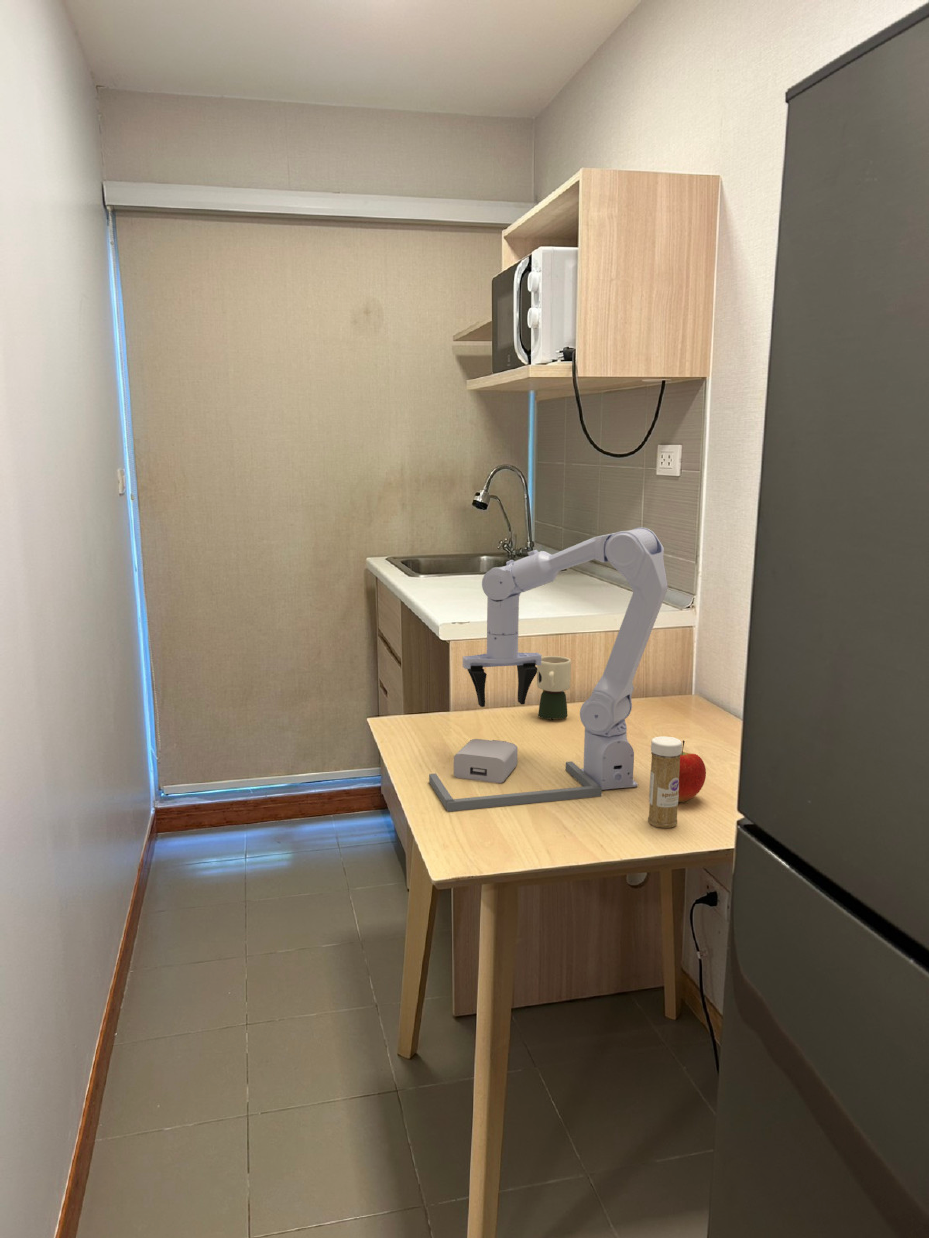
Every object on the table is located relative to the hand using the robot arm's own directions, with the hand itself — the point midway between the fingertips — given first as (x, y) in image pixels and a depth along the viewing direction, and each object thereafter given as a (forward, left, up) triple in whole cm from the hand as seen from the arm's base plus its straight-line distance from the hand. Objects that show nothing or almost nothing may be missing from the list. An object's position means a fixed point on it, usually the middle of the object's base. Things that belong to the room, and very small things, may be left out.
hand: (501, 704), depth 165 cm
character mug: (+22, -19, -11) cm, 30 cm away
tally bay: (-14, +2, -10) cm, 18 cm away
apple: (-26, -23, -11) cm, 36 cm away
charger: (-4, +3, -11) cm, 12 cm away
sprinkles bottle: (-34, -16, -11) cm, 39 cm away
